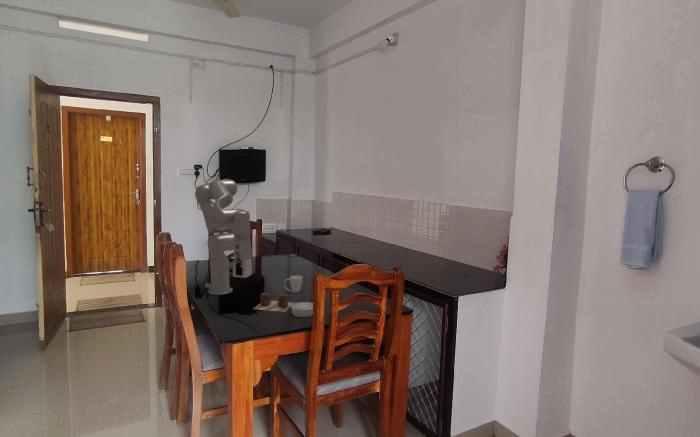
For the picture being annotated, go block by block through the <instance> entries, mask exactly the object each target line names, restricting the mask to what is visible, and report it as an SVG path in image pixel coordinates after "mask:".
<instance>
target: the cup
mask: <svg viewBox="0 0 700 437" xmlns="http://www.w3.org/2000/svg"><path fill="white" fill-rule="evenodd" d="M286 281H289V282H290V287H291V290H290V289H289V288H287V287H286ZM302 285H303V276H302V275H291V276H289V278H286V279H285V280H284V283H283V286H284V289H286V290H287V292H288V291H289V292H291V293H298V294H299V293H300V292H301V289H302Z"/></svg>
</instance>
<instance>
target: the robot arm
mask: <svg viewBox="0 0 700 437" xmlns="http://www.w3.org/2000/svg"><path fill="white" fill-rule="evenodd" d="M237 193H238V184H237V183H236V182H235V180H233V179H215V180H212V181H210V182H209V183H204V184H200V185H198V186H197V187H196V189H195V197H196V202H197V203H198V206H199V207H200V209H201V212H202V214H203V218H204V223H205V227H206V230H207V231H208V232H209V233H210V234H211V235H210V236H209V237H208V238H207V246H208V251H209V264H210V266H209V268H210V282H209V283H208V282H206V283H205V285H204V287H205V288H208V290H207V293H208V294H209V295H213V296H221V295H222V296H223V295H227V294H230V293H232V292H233V288H232V287H230V262H229V257H228V256H227V255H226V254H225V252H228V251H233V260H234V261H233V260H232V263H233V262H234V264H235V267H236V275H240V276H242V267H241V266H242V262H244V261H246V260H248V259H252V257H253V254H252V243H251V218H250V216H251V215H250V214H251V213H250V211H249V212H248V211H247V210H245V209H244V208H228V207H230V205H231V204H233V202H234V196H236V195H237ZM212 200H214V201H215V202H213V201H212ZM226 208H228V209H226ZM239 260H240V261H239ZM238 262H240V264H239V263H238Z"/></svg>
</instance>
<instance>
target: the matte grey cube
mask: <svg viewBox="0 0 700 437" xmlns="http://www.w3.org/2000/svg"><path fill="white" fill-rule="evenodd" d="M233 261H234V259H233V260H232V278H242V279H243V278H245V279H246V278H248V277H249V276H251V275H253V259H252V258H250V259H248V260H246V261H244V262H242V266H241V267H242V276H240V275H236V267H235V264H234V262H233ZM239 261H240V260H239ZM238 263H239V264H240V262H238Z"/></svg>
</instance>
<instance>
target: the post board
mask: <svg viewBox="0 0 700 437" xmlns="http://www.w3.org/2000/svg"><path fill="white" fill-rule="evenodd" d="M259 298H260V303H259V304H258V305H256V306H255V307H253V308H252V310H258V311H259V310H260V311H267V312H268V311H269V312H270V311H271V312H281V313H286V312H287V311H288V310H289V309H290V308H291V306H292V305H293V304H295V303H296V302H295V301H294V302H291V301H288V306H287V307H286V308H280V307H278V300H272V296H271V292H262V293H260V297H259Z"/></svg>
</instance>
